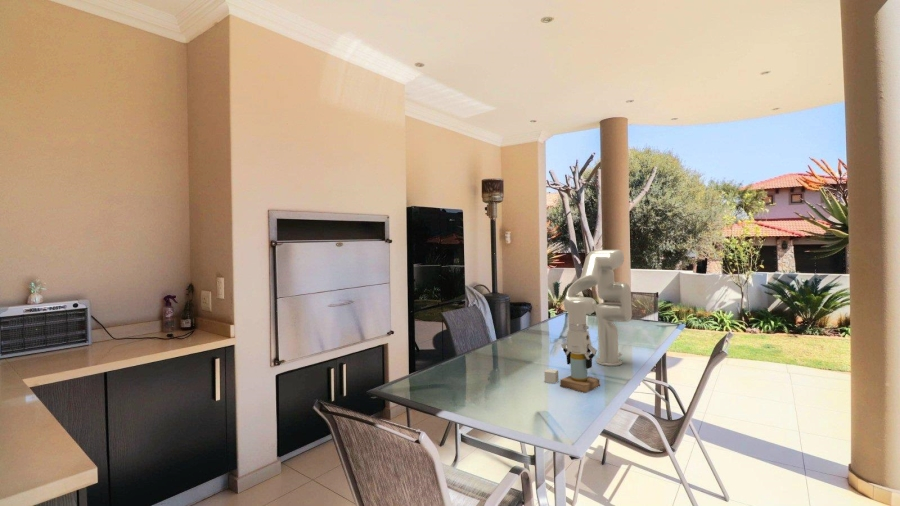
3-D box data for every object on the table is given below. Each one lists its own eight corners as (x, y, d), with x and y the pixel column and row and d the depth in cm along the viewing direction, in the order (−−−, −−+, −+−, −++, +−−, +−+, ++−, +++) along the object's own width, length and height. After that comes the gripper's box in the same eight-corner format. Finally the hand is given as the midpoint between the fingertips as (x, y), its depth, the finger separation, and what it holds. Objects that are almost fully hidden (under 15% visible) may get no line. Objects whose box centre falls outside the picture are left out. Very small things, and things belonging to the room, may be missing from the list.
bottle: (588, 382, 179) (587, 347, 178) (572, 381, 180) (570, 347, 180) (586, 376, 186) (585, 343, 185) (570, 376, 187) (569, 343, 187)
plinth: (575, 379, 191) (575, 373, 191) (600, 385, 182) (600, 379, 182) (559, 386, 183) (559, 379, 183) (584, 393, 174) (584, 386, 174)
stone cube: (548, 379, 194) (547, 368, 194) (558, 380, 192) (558, 369, 192) (544, 382, 190) (544, 371, 190) (555, 383, 187) (555, 372, 187)
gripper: (600, 328, 178) (601, 367, 178) (565, 323, 191) (567, 360, 192) (590, 331, 173) (592, 371, 173) (556, 326, 187) (557, 363, 187)
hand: (579, 365), depth 183 cm, fingers open, 9 cm apart
